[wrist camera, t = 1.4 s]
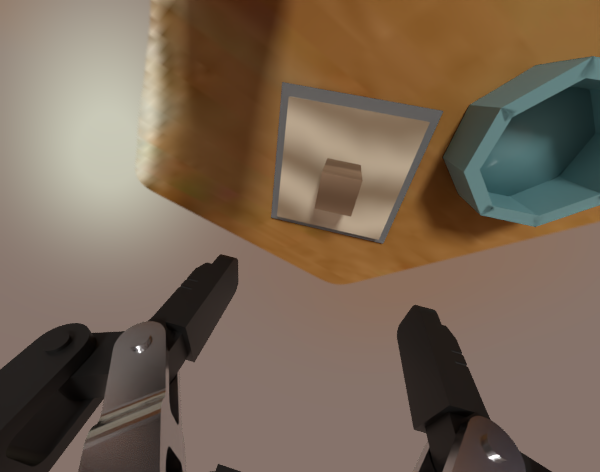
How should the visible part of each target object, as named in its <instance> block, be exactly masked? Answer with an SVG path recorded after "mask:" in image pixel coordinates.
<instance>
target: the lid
mask: <svg viewBox="0 0 600 472" xmlns="http://www.w3.org/2000/svg"><path fill="white" fill-rule="evenodd" d="M429 124H430V122H427V121H422V120H416V119H411V118H405V117H400V116H395V115H389V114H384V113H378V112H373V111H367V110H362V109H357V108H351V107H346V106H340V105H335V104H329V103H324V102H319V101H313V100H308V99H302V98H297V97H291V96H290V97H289V99H288V109H287V119H286V129H285V140H284V150H283V160H282V170H281V180H280V190H279V200H278V210H277V216H278V217H282V218H287V219H291V220H295V221H300V222H304V223H308V224H312V225H317V226H321V227H325V228H330V229H334V230H338V231H343V232H347V233H351V234H356V235H360V236H364V237H369V238H373V239H377V240H379V238H380V236H381V234H382V231H383V229H384V227H385V225H386V222H387V220H388V218H389V215H390V213H391V211H392V208H393V206H394V204H395V202H396V199H397V197H398V195H399V192H400V190H401V188H402V185H403V183H404V181H405V179H406V176H407V174H408V172H409V169H410V167H411V165H412V163H413V160H414V158H415V156H416V153H417V151H418V149H419V146H420V144H421V142H422V140H423V137H424V135H425V133H426V130H427V128H428V126H429Z"/></svg>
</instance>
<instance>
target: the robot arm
mask: <svg viewBox="0 0 600 472" xmlns="http://www.w3.org/2000/svg"><path fill="white" fill-rule="evenodd" d="M237 285H238V260H237V258H233V257H229V256H226V255H219V256H218V257H217V259H216V260H215V261H214V262H213V263H212V264H210V263H205V264H203V265H201V266H200V267H198V268H196V269H195V270H194V271H193V272H192V273H191V274H190V276H189V277H188V278H187V280H185V281H184V282H183V283H182V284H181V287H179V288H178V289H177V290H176V291H175V292H174V293H173V295H172V296H171V297H170V298H169V299H168V300H167V301H166V302H165V304H164V305H163V306H162V307H161V308H160V309H159V310H158V311H157V313H156V314H155V315H154V316H153V317H152V318H151V319H150V320H148V321H147V322H142V323H139V324H136V325H134V326H132V327H130V328H129V329H127V330H126V331H122V332H104V333H91V332H90V330H89V329H88V328H87V326H85V325H83V324H79V323H72V324H66V325H62V326H59V327H57V328H55V329H52V330H50V331H48V332H46V333H45V334H43V335H42V336H40V337H39V338H38V339H37V340H35V341H34V342H33V343H32V344H31V345H29V346H28V347H27V348H26V349H25V350H23V351H22V352H21V353H20V354H19V355H17V356H16V357H15V358H14V359H13V360H11V361H10V362H9V363H8V364H7V365H5V366H4V367H3V368H2V369H1V370H0V472H49V471H50V469H51V468H52V466H53V465H54V464H55V463H56V461H57V460H58V459H59V457H60V456H61V455H62V453H63V452H64V451H65V449H66V448H67V446H68V445H69V444H70V443H71V441H72V440H73V439H74V437H75V436H76V435H77V433H78V432H79V431H80V429H81V428H82V427H83V425H84V424H85V423H86V421H87V420H88V419H89V417H90V416H91V415H92V413H93V412H94V411H95V409H96V408H97V407H98V405H99V404H100V403H101V402H102V400H103V399H104V402H103V408H102V413H101V417H100V420H99V422H98V424H96V425H95V426H93V427H92V428H91V430H90V431H89V433H88V435H87V438H86V440H85V444H84V447H83V452H82V457H81V461H80V466H79V471H78V472H186V460H185V446H184V438H183V432H182V424H181V400H180V378H179V369H180V368H181V366H182V365H183V363H184V361H185V360H189V361H193V362H195V360H196V359H197V356H198V355H199V354H200V352H201V350H202V348H203V346H204V345H205V343H206V342H207V340H208V338H209V336H210V335H211V333H212V331H213V330H214V328H215V326H216V325H217V323H218V321H219V319H220V318H221V316H222V314H223V312H224V311H225V309H226V307H227V306H228V304H229V302H230V301H231V299H232V297H233V295H234V294H235V292H236V289H237ZM397 340H398V345H399V350H400V356H401V362H402V367H403V373H404V378H405V383H406V389H407V394H408V400H409V405H410V411H411V416H412V421H413V427H414V430H417V431H421V432H424V433H426V434H427V438H428V443H427V444H426V445H425V446H424V449H423V451H422V453H421V455H420V457H419V459H418V462H417V464H416V467H415V468H414V471H413V472H551V471H550V470H548V469H546V468H545V467H543V466H542V465H540V464H539V463H537V462H535V461H534V460H532V459H531V458H529V457H527V456H526V455H524V454H523V453H521V452H520V451H519V450H518V448H517V446H516V445H515V443H514V442H513V440H512V439H511V438H510V437H509V435H508V434H507V433H506V432H505V431H504V430H503V429H502V428H501V427H499V426H498V425H497V424H496V423H494V422H493V421H491V419H490V418H489V415H488V413H487V411H486V409H485V406H484V404H483V402H482V399H481V397H480V394H479V392H478V390H477V387H476V385H475V383H474V380H473V378H472V376H471V373H470V371H469V369H468V367H467V366H466V365H467V364H466V361H465V359H464V356H463V355H462V352H461V349H460V347H459V345H458V342H457V340H456V338H455V337H454V336H453V334H452V333H451V332H450V331H449V329H448V328H447V327H446V326H444V325H441V322H440V319H439V317H438V314H437V313H436V311H435V310H433V309H429V308H425V307H421V306H418V305H414V306H413V307H412V308H411V309H410V311H409V312H408V313H407V315H406V316H405V318H404V319H403V320H402V322H401V323H400V325H399V327H398V331H397ZM212 472H240V471H237V470H234V469H231V468H229V467H226V466H223V465H219V464H218V466H217V468H216V471H212Z"/></svg>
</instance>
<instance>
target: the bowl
mask: <svg viewBox="0 0 600 472" xmlns="http://www.w3.org/2000/svg"><path fill="white" fill-rule="evenodd" d="M443 159H444V161H445V164H446V166H447V168H448V171H449V173H450V176H451V178H452V180H453V183H454V185H455V188H456V190H457V192H458V194H459V195H460V196H461V197H462V198H463V199H464V200H465V201H466V202H467V203H468V204H469V205H470V206H471V207H472V208H473V209H475V210H476V211H477V212H478V213H479V214H480V215H482V216H487V217H492V218H496V219H501V220H506V221H510V222H515V223H520V224H524V225H529V226H534V227H536V226H539V225H542V224H545V223H548V222H551V221H554V220H557V219H560V218H563V217H566V216H569V215H572V214H575V213H578V212H581V211H584V210H587V209H590V208H593V207H596V206H599V205H600V57H594V56H591V57H585V58H578V59H572V60H566V61H559V62H553V63H546V64H540V65H535V66H534V67H532V68H530V69H529V70H527V71H525V72H524V73H522V74H520V75H519V76H517V77H515V78H514V79H512V80H510V81H509V82H507V83H505V84H504V85H502V86H500V87H499V88H497V89H495V90H494V91H492V92H490V93H489V94H487V95H485V96H484V97H482V98H480V99H479V100H477V101H475V102H474V103H472V104H470V105H469V107H468V109H467V111H466V113H465V115H464V117H463V119H462V121H461V123H460V125H459V127H458V129H457V131H456V133H455V135H454V137H453V138H452V140H451V142H450V144H449V146H448V148H447V150H446V152H445V154H444V156H443Z"/></svg>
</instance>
